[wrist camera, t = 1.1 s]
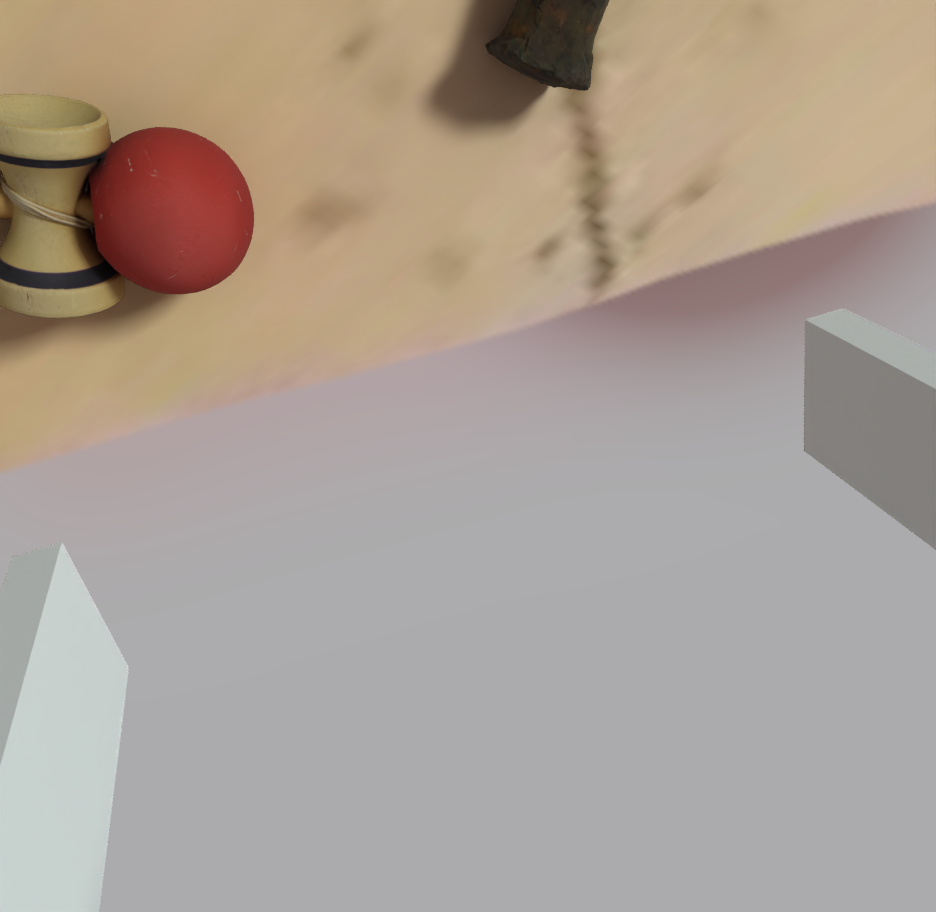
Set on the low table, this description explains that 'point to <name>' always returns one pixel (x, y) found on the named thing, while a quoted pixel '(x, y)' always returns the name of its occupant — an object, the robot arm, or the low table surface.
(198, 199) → the kendama
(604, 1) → the hand tool
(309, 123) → the low table surface
